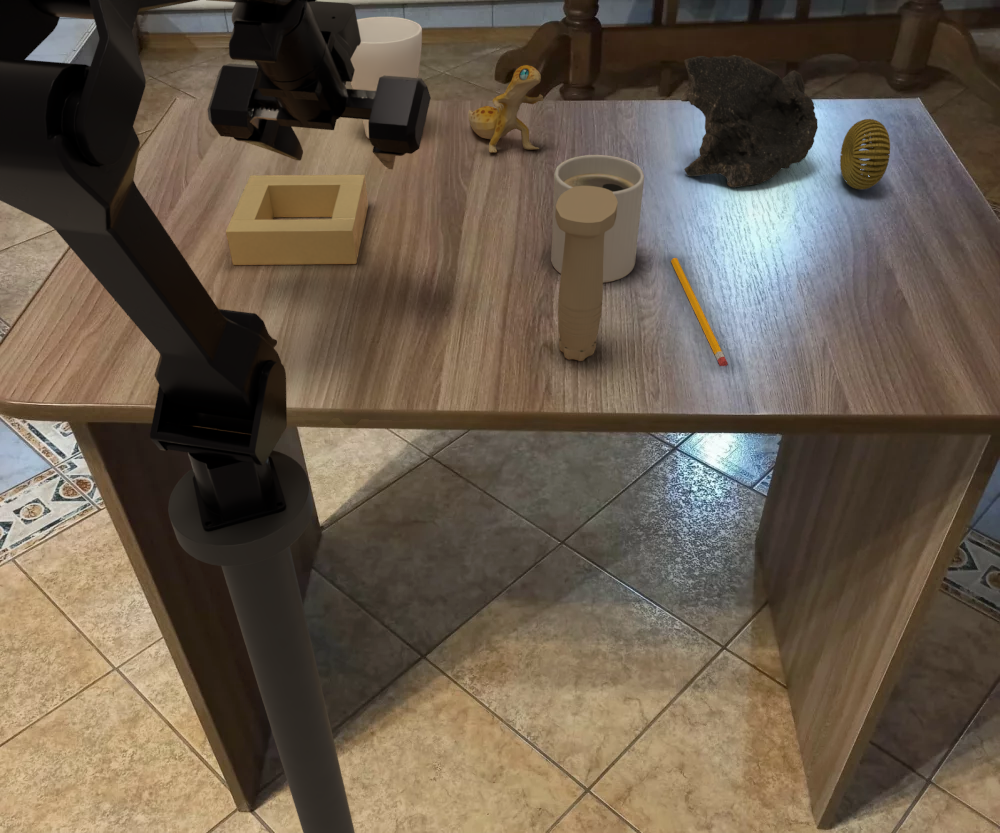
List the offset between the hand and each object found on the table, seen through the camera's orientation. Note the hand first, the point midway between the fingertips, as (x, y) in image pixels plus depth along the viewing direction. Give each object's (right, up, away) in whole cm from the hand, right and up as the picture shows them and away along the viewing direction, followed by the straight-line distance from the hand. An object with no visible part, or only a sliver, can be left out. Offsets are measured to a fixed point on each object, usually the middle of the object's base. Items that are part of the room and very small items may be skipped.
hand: (345, 160), depth 86 cm
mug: (+25, -7, +10) cm, 28 cm away
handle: (+22, -19, -3) cm, 29 cm away
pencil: (+34, -14, +3) cm, 37 cm away
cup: (0, +13, +35) cm, 37 cm away
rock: (+45, +7, +27) cm, 53 cm away
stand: (-7, -4, +14) cm, 16 cm away
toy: (+14, +11, +33) cm, 37 cm away
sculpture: (+58, +3, +23) cm, 62 cm away
